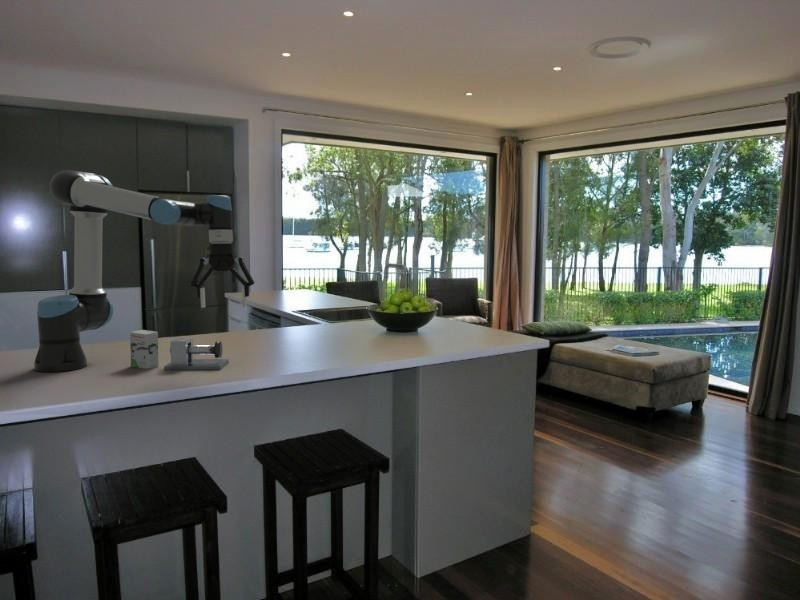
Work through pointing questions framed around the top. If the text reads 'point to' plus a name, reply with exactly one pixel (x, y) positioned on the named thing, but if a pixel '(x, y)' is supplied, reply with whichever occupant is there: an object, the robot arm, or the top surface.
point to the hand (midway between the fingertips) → (224, 307)
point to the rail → (200, 365)
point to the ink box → (144, 349)
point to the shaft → (206, 349)
